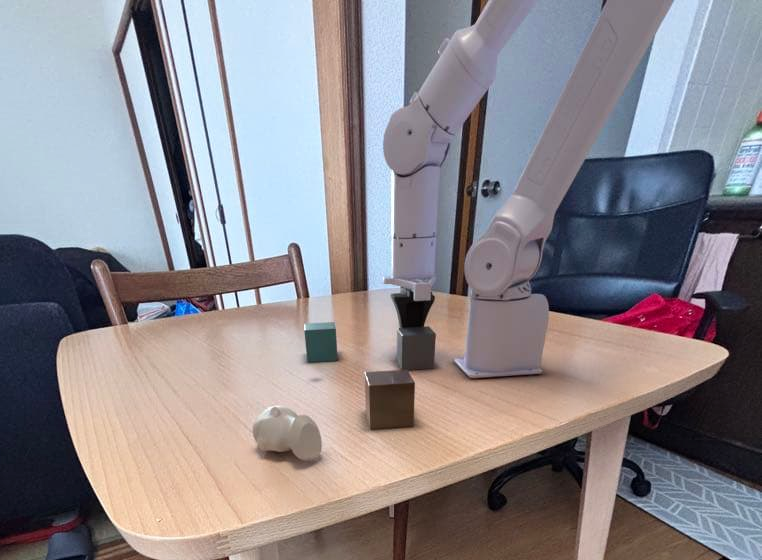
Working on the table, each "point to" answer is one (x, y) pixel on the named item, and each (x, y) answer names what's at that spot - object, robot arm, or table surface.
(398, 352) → the grey block
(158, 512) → the table surface
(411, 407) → the walnut block
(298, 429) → the smooth white sculpture
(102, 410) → the table surface
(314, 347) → the teal block
